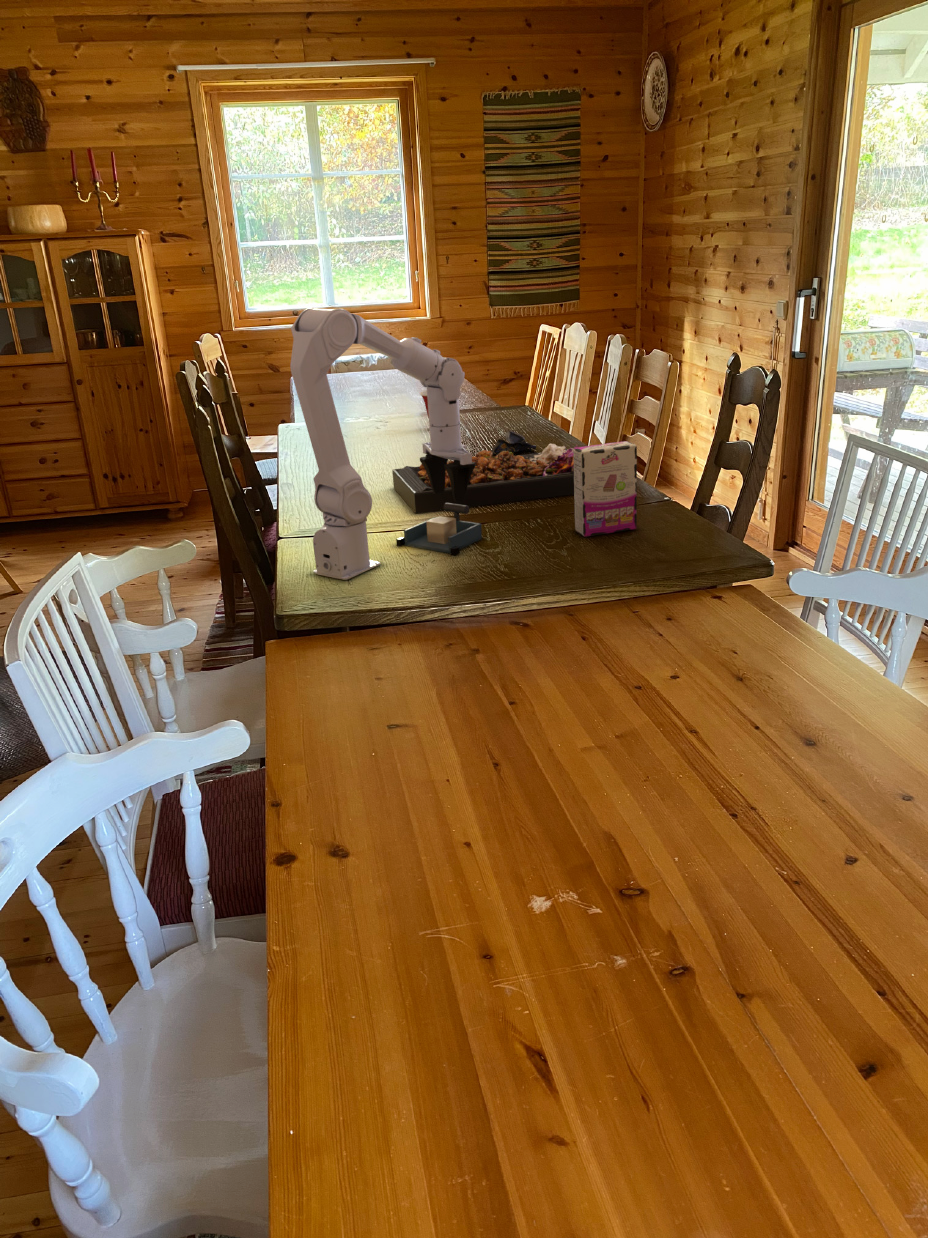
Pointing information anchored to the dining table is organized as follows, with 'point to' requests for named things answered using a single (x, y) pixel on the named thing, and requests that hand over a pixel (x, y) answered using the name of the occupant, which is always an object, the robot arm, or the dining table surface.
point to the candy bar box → (605, 488)
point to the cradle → (454, 550)
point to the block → (440, 529)
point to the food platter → (493, 480)
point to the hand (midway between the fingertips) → (449, 496)
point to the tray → (462, 538)
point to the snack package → (512, 443)
